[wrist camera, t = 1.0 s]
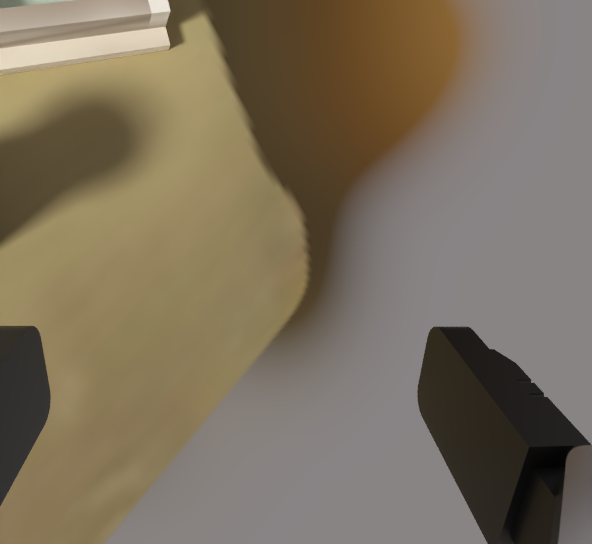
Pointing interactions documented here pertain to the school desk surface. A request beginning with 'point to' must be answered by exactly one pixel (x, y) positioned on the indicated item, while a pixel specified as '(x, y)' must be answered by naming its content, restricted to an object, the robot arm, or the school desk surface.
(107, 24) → the white divided tray
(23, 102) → the school desk surface
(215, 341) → the school desk surface
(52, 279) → the school desk surface
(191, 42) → the school desk surface
